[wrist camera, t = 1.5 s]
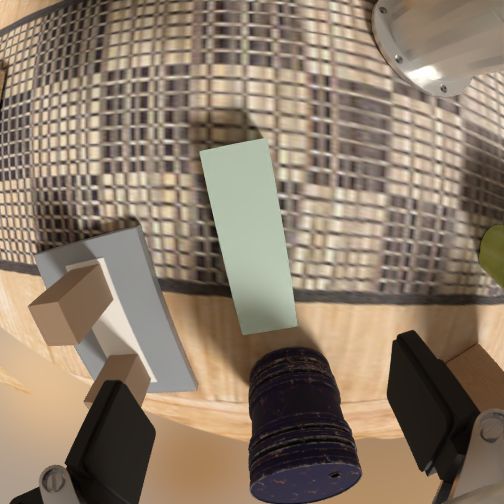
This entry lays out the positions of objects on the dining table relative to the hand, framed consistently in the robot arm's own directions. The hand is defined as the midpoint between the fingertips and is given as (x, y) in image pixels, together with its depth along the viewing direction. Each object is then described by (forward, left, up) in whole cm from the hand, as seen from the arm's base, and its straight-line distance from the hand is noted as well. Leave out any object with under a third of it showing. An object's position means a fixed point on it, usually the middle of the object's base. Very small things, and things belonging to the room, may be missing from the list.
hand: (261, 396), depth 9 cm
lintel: (0, 0, -19) cm, 19 cm away
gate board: (+7, -17, -19) cm, 26 cm away
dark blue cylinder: (+18, +1, -19) cm, 26 cm away
